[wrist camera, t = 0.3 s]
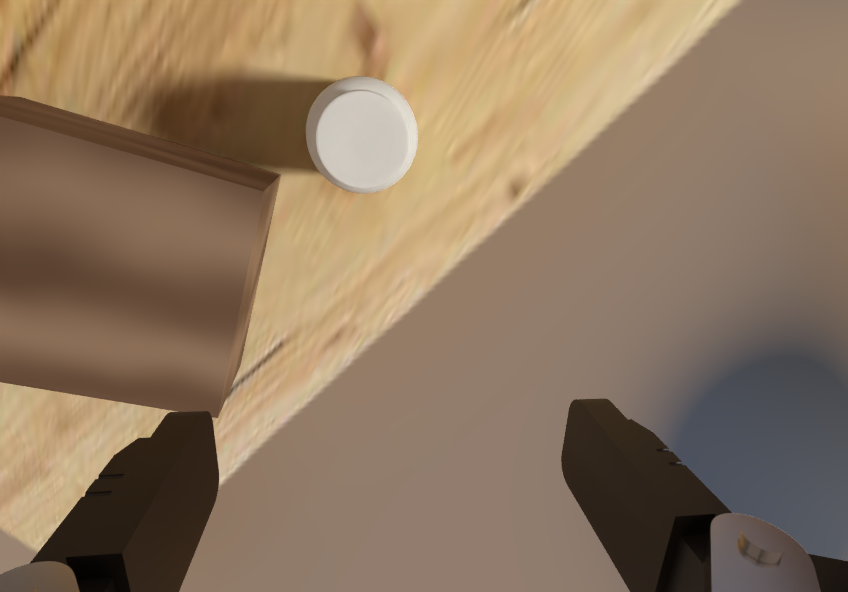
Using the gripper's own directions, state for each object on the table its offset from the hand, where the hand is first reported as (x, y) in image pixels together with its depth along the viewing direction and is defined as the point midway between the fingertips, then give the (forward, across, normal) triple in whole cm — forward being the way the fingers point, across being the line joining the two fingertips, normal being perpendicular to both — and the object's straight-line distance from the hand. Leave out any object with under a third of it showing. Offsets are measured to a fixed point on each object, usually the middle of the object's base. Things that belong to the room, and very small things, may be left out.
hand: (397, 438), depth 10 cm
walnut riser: (+22, +14, +1) cm, 26 cm away
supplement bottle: (+22, +1, -7) cm, 23 cm away
